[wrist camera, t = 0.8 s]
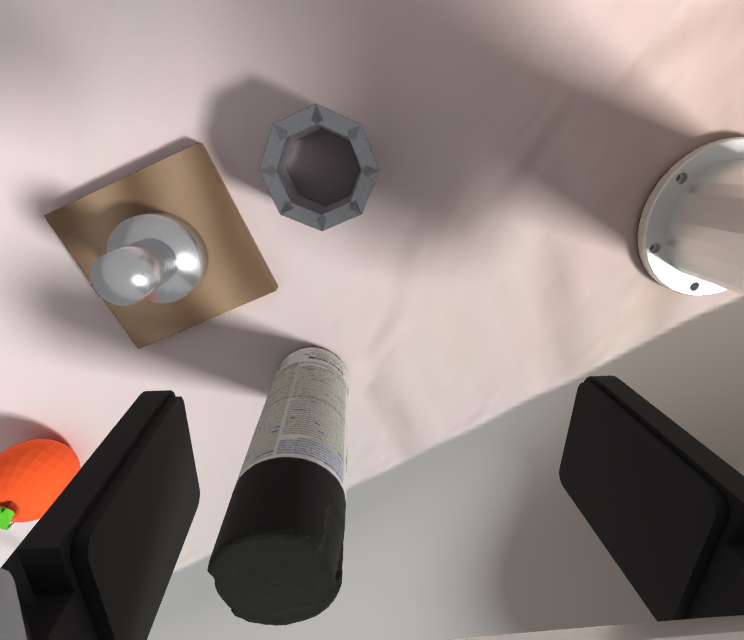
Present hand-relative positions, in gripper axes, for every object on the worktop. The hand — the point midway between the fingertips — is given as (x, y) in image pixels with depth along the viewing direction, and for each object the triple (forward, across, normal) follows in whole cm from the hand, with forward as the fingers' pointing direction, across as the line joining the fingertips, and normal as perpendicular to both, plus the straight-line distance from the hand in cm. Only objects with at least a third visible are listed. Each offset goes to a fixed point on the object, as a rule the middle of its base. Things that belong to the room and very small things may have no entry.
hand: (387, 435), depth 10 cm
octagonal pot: (+26, +2, -5) cm, 26 cm away
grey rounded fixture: (+25, +14, +1) cm, 29 cm away
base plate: (+26, +14, +1) cm, 30 cm away
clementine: (+27, +28, +22) cm, 45 cm away
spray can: (+26, +3, +13) cm, 29 cm away
